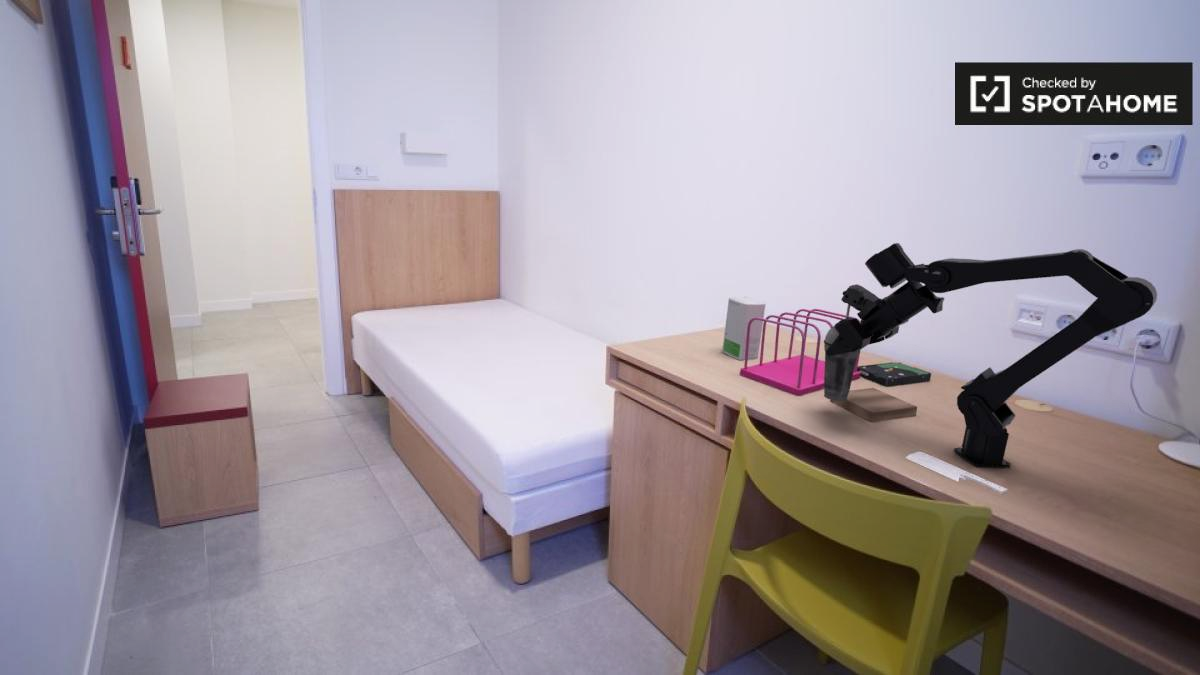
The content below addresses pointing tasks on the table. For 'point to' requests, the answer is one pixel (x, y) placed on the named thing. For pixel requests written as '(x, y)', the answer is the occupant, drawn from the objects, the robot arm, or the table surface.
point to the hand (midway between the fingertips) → (835, 351)
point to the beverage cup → (838, 369)
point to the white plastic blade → (950, 470)
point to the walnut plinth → (876, 405)
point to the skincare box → (743, 327)
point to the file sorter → (792, 358)
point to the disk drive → (893, 374)
